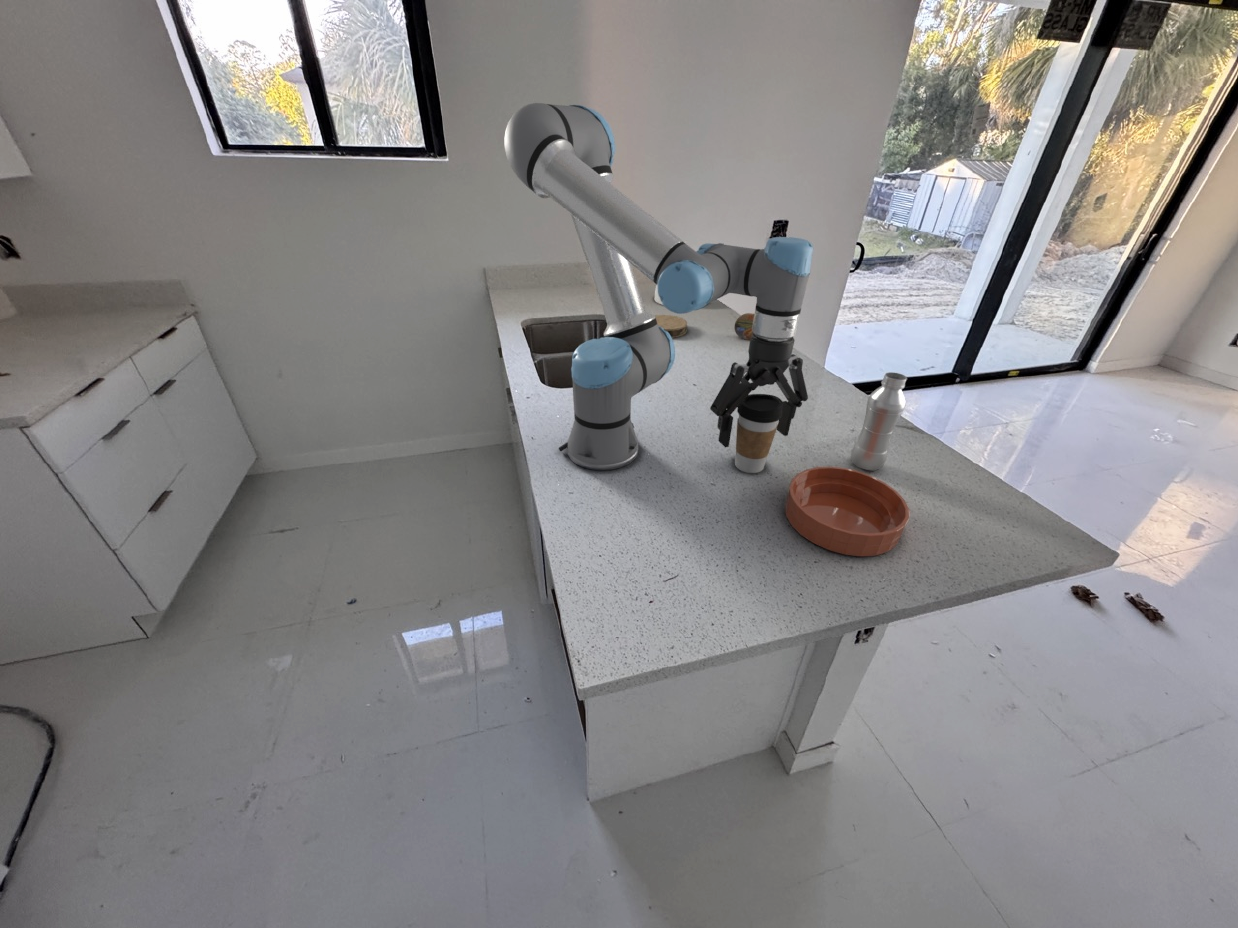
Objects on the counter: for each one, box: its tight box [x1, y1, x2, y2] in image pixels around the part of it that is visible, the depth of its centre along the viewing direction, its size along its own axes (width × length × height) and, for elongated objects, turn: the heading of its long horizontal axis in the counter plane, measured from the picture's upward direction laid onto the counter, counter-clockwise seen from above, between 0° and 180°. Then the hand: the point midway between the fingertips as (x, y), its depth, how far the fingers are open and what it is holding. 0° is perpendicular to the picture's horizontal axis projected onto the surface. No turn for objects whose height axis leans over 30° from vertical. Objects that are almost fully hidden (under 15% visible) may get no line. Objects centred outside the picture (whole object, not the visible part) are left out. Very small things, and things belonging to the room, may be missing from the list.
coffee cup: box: [734, 393, 783, 474], centre depth 97 cm, size 8×8×15 cm
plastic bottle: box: [850, 371, 908, 471], centre depth 96 cm, size 6×7×20 cm
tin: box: [734, 312, 755, 341], centre depth 162 cm, size 15×3×8 cm, turn 68°
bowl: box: [784, 466, 910, 557], centre depth 85 cm, size 19×19×5 cm
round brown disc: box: [653, 314, 688, 339], centre depth 171 cm, size 16×16×3 cm
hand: (753, 438), depth 97 cm, fingers open, 13 cm apart
